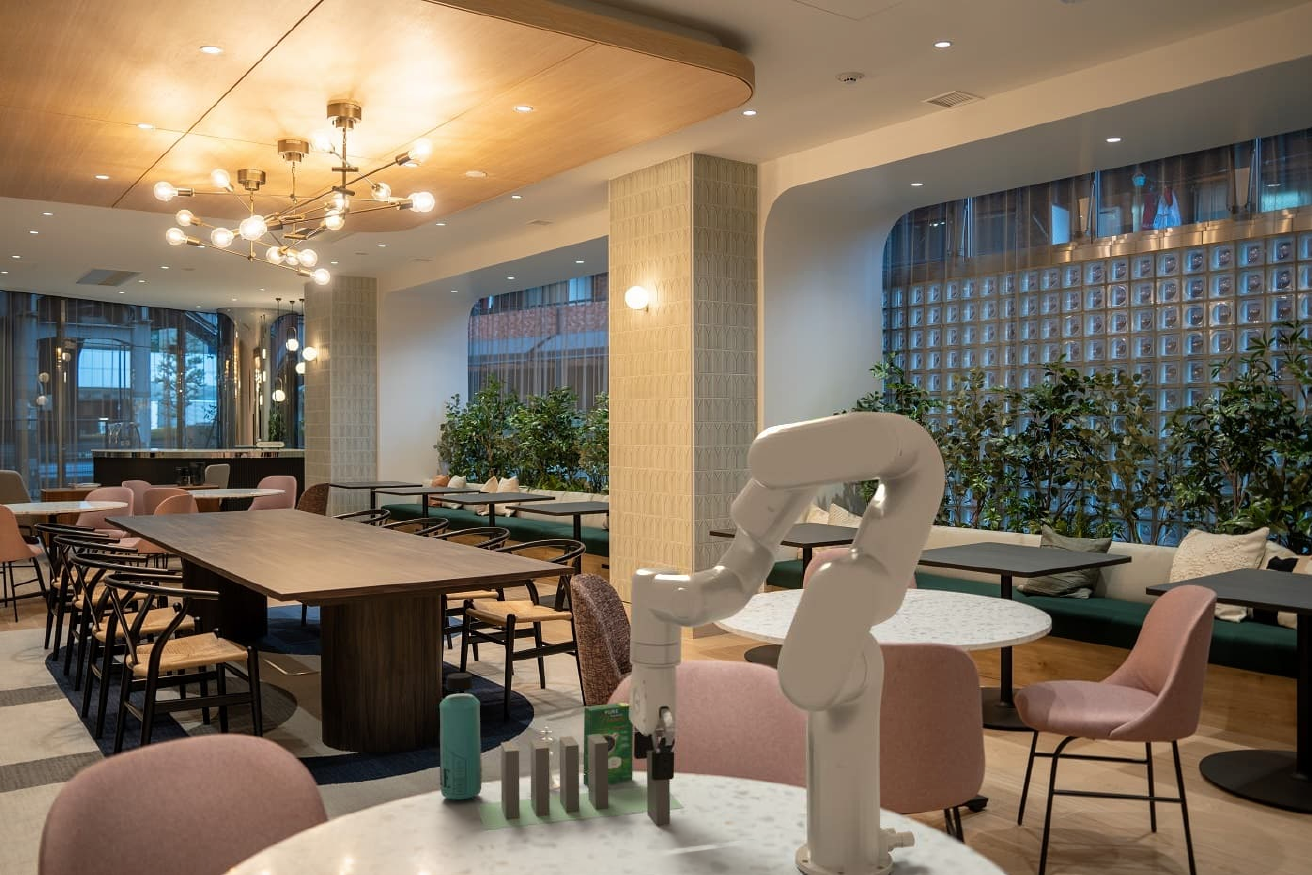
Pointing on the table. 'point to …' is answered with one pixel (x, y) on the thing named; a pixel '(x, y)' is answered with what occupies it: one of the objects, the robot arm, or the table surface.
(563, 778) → the domino
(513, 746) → the domino
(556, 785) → the chess piece
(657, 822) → the domino
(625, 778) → the coffee box
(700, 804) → the table surface
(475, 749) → the beverage bottle
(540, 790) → the domino
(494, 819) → the mat
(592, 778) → the domino
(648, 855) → the table surface
